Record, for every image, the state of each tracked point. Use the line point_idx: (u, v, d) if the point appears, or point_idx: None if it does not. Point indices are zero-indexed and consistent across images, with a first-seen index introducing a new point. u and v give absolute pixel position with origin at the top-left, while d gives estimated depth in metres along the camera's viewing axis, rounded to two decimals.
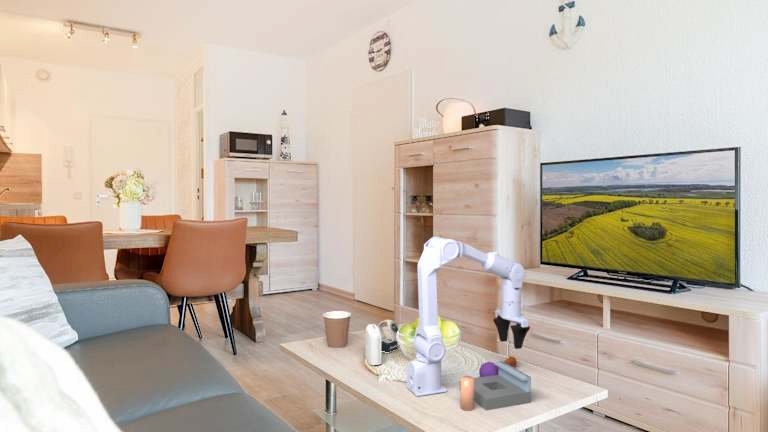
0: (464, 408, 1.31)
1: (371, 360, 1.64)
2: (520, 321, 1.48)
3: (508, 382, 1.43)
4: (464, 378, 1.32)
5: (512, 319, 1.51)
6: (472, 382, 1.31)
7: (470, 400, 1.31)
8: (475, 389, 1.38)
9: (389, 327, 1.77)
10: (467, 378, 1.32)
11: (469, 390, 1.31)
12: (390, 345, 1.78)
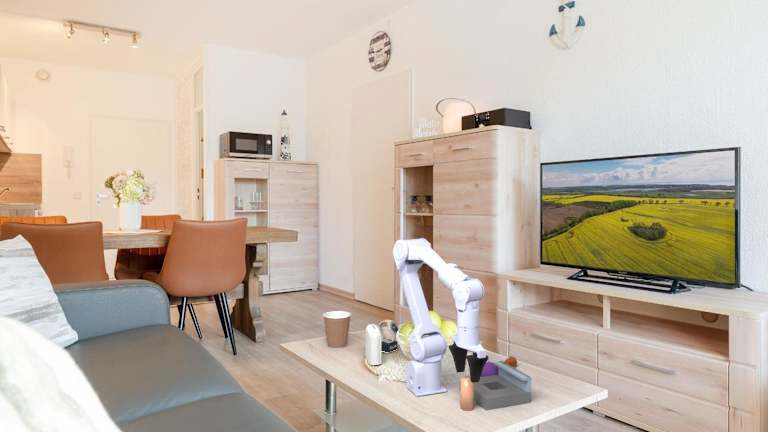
0: (464, 408, 1.31)
1: (371, 360, 1.64)
2: (476, 351, 1.26)
3: (508, 382, 1.43)
4: (464, 378, 1.32)
5: (468, 348, 1.28)
6: None
7: (470, 400, 1.31)
8: (475, 389, 1.38)
9: (389, 327, 1.77)
10: (467, 378, 1.32)
11: (469, 390, 1.31)
12: (390, 345, 1.78)
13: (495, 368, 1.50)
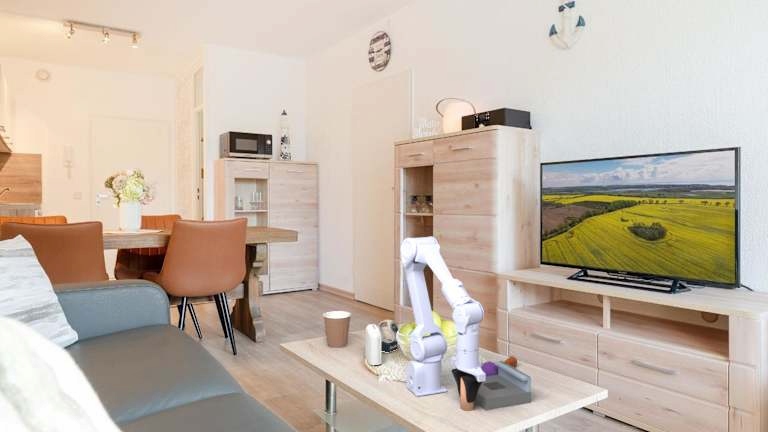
0: (464, 408, 1.31)
1: (371, 360, 1.64)
2: (476, 374, 1.26)
3: (508, 382, 1.43)
4: None
5: (467, 371, 1.28)
6: None
7: None
8: None
9: (389, 327, 1.77)
10: None
11: None
12: (390, 345, 1.78)
13: (495, 368, 1.50)
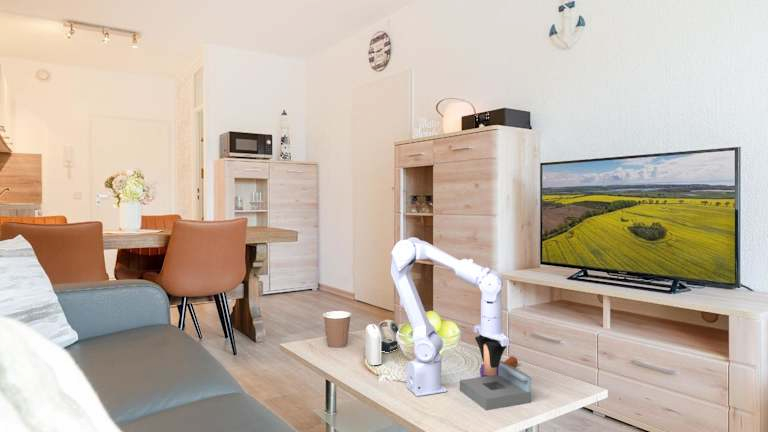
0: (488, 373, 1.37)
1: (371, 360, 1.64)
2: (500, 339, 1.32)
3: (508, 382, 1.43)
4: None
5: (491, 337, 1.34)
6: None
7: None
8: (475, 389, 1.38)
9: (389, 327, 1.77)
10: None
11: None
12: (390, 345, 1.78)
13: None
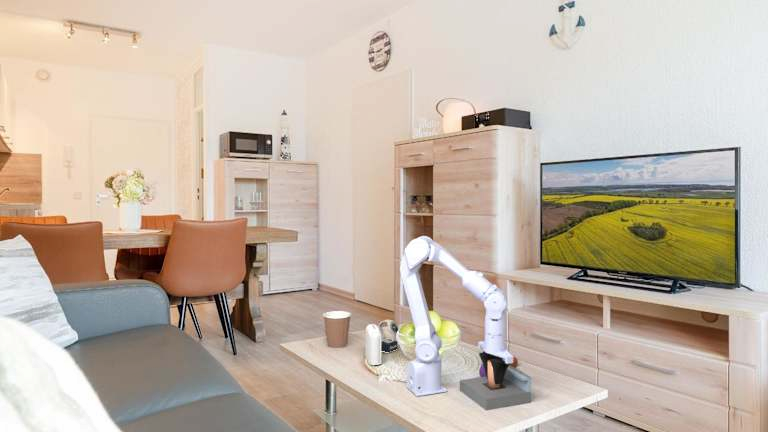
0: None
1: (371, 360, 1.64)
2: (504, 357, 1.34)
3: (508, 382, 1.43)
4: None
5: (495, 354, 1.36)
6: None
7: None
8: (475, 389, 1.38)
9: (389, 327, 1.77)
10: None
11: None
12: (390, 345, 1.78)
13: None
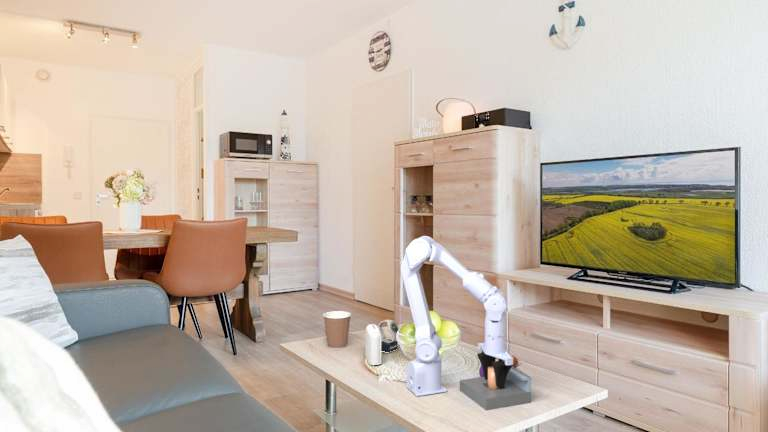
0: None
1: (371, 360, 1.64)
2: (504, 358, 1.34)
3: (508, 382, 1.43)
4: (491, 368, 1.40)
5: (495, 355, 1.36)
6: None
7: None
8: (475, 389, 1.38)
9: (389, 327, 1.77)
10: None
11: None
12: (390, 345, 1.78)
13: None
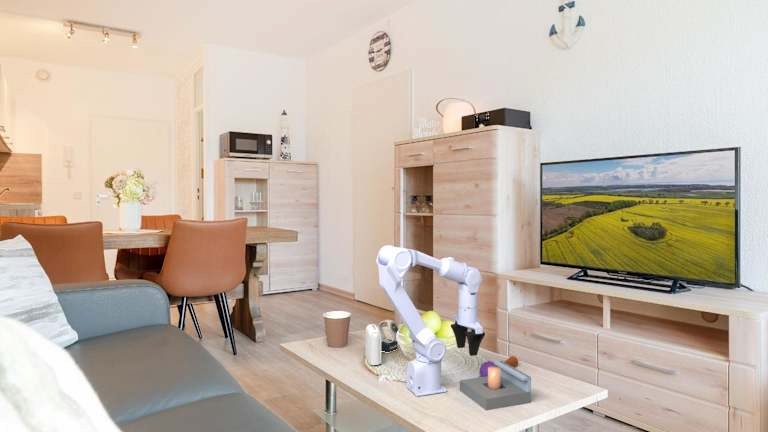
0: None
1: (371, 360, 1.64)
2: (474, 327, 1.44)
3: (508, 382, 1.43)
4: (492, 368, 1.40)
5: (467, 325, 1.46)
6: (499, 372, 1.39)
7: None
8: (475, 389, 1.38)
9: (389, 327, 1.77)
10: (494, 368, 1.40)
11: (496, 379, 1.39)
12: (390, 345, 1.78)
13: None
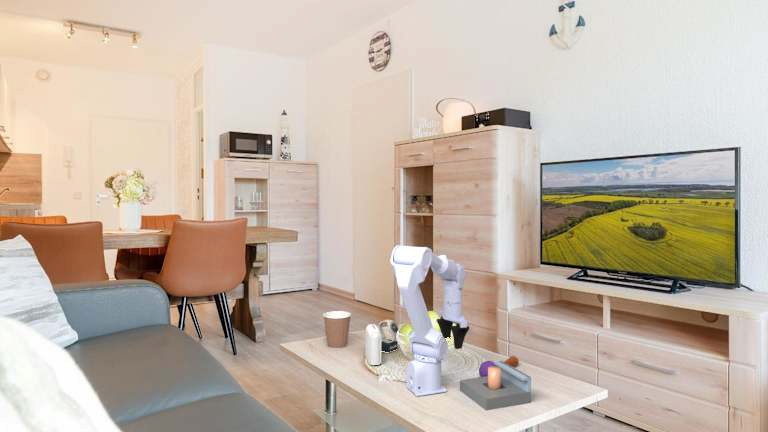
0: None
1: (371, 360, 1.64)
2: (459, 322, 1.50)
3: (508, 382, 1.43)
4: (492, 368, 1.40)
5: (452, 320, 1.52)
6: (499, 372, 1.39)
7: None
8: (475, 389, 1.38)
9: (389, 327, 1.77)
10: (494, 368, 1.40)
11: (496, 379, 1.39)
12: (390, 345, 1.78)
13: None
